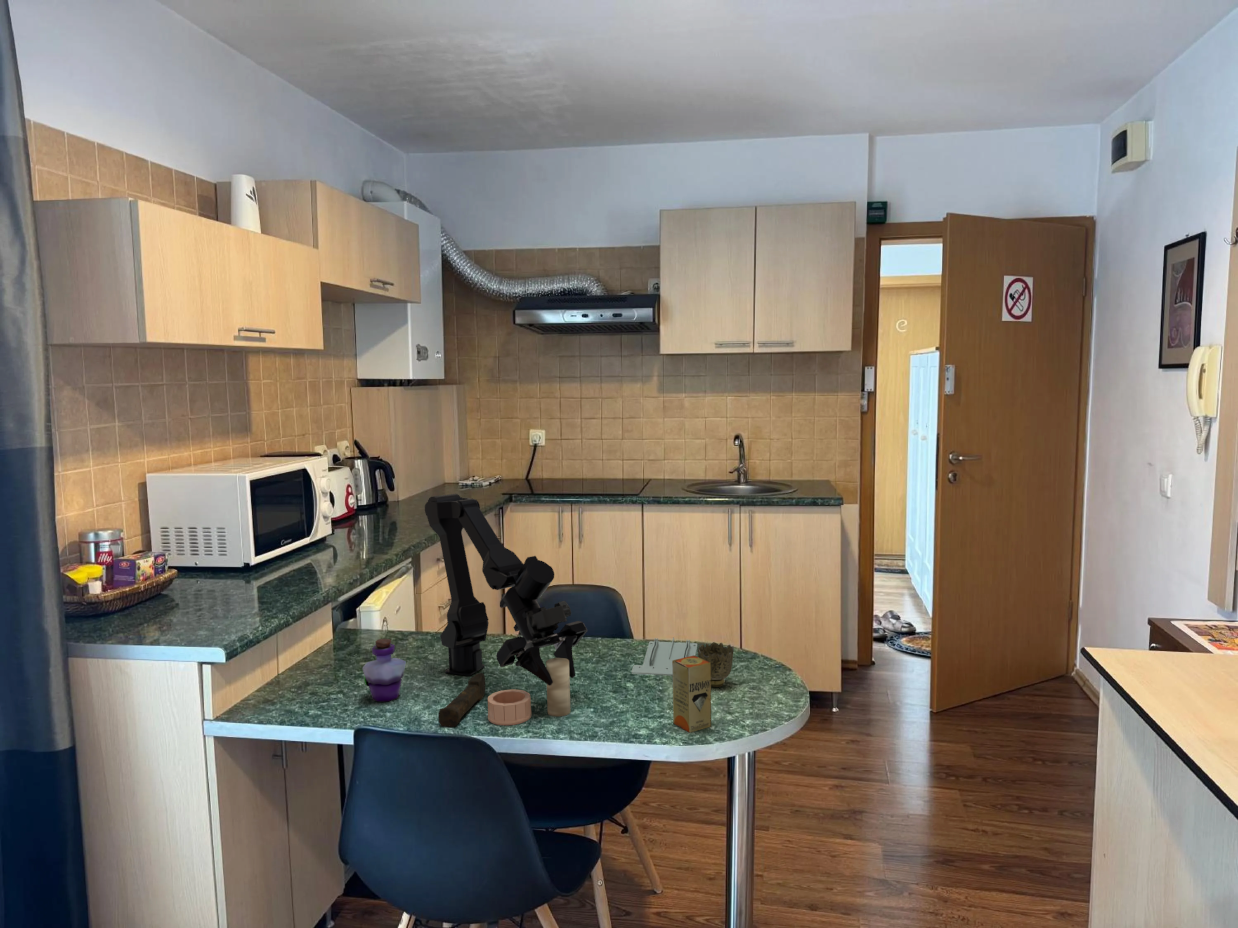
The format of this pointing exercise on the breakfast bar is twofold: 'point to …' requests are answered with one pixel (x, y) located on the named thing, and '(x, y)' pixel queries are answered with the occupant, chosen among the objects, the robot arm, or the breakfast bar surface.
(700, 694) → the shoe polish box
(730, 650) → the brown speckled footed container
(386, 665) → the potion bottle
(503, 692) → the terracotta cup
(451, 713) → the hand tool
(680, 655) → the metal bracket
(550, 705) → the birch peg
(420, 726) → the breakfast bar surface
